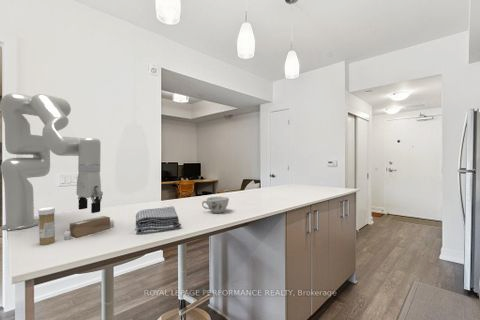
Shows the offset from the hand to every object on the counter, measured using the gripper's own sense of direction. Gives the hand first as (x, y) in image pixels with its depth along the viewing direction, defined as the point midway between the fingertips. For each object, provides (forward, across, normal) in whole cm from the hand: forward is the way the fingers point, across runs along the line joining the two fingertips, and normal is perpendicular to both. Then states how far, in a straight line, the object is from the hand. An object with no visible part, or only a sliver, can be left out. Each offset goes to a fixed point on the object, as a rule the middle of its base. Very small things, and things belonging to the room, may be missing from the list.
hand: (89, 210), depth 96 cm
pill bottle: (+10, -1, -14) cm, 17 cm away
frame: (+9, +1, 0) cm, 9 cm away
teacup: (+9, +23, +55) cm, 61 cm away
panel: (+10, -2, 0) cm, 10 cm away
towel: (+10, +17, +20) cm, 28 cm away
